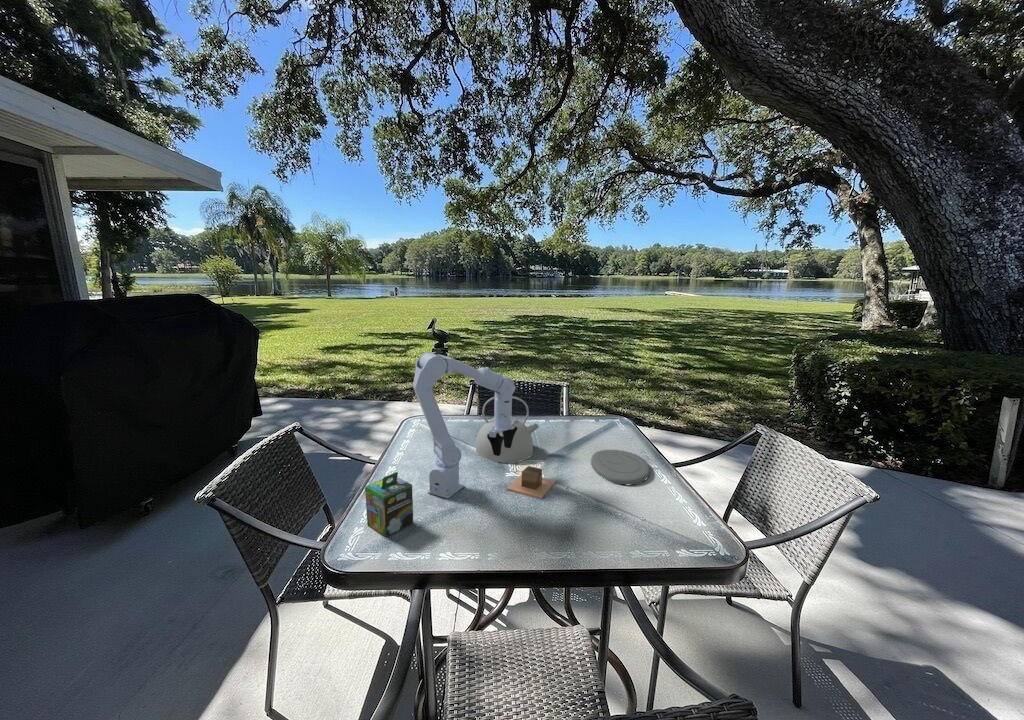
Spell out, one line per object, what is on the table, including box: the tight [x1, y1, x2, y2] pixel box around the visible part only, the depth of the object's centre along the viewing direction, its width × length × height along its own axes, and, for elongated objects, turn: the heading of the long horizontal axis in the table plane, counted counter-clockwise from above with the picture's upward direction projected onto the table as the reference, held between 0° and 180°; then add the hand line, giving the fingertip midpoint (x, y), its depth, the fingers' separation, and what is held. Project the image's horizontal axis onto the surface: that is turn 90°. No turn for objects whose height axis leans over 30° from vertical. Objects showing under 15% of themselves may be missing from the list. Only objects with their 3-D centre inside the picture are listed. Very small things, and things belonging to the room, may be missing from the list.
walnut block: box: [521, 465, 543, 490], centre depth 137 cm, size 5×5×5 cm
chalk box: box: [364, 471, 414, 538], centre depth 113 cm, size 9×9×15 cm
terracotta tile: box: [506, 474, 556, 500], centre depth 137 cm, size 12×12×1 cm
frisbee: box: [590, 449, 651, 485], centre depth 152 cm, size 20×27×3 cm
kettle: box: [475, 395, 541, 464], centre depth 164 cm, size 25×23×22 cm
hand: (502, 451), depth 142 cm, fingers open, 7 cm apart
